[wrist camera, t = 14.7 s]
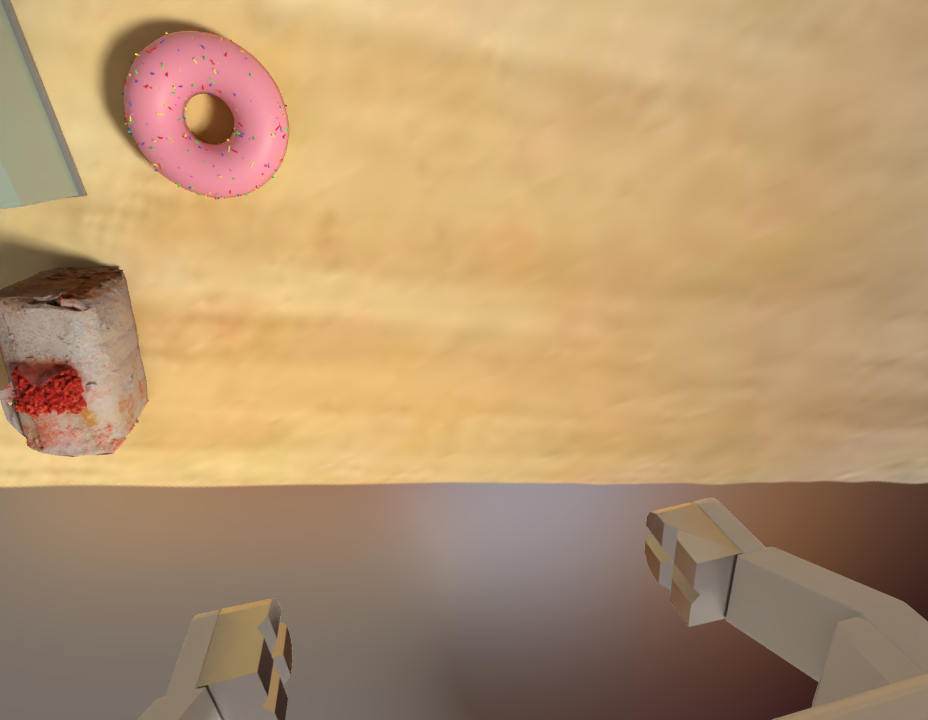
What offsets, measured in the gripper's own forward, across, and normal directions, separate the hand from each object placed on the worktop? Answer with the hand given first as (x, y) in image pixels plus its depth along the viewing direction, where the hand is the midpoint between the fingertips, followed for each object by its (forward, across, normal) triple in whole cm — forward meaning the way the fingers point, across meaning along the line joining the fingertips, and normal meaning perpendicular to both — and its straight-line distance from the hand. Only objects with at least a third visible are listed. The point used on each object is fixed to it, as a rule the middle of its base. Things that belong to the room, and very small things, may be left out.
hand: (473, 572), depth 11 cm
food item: (+37, +25, +5) cm, 45 cm away
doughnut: (+38, +11, -11) cm, 41 cm away
